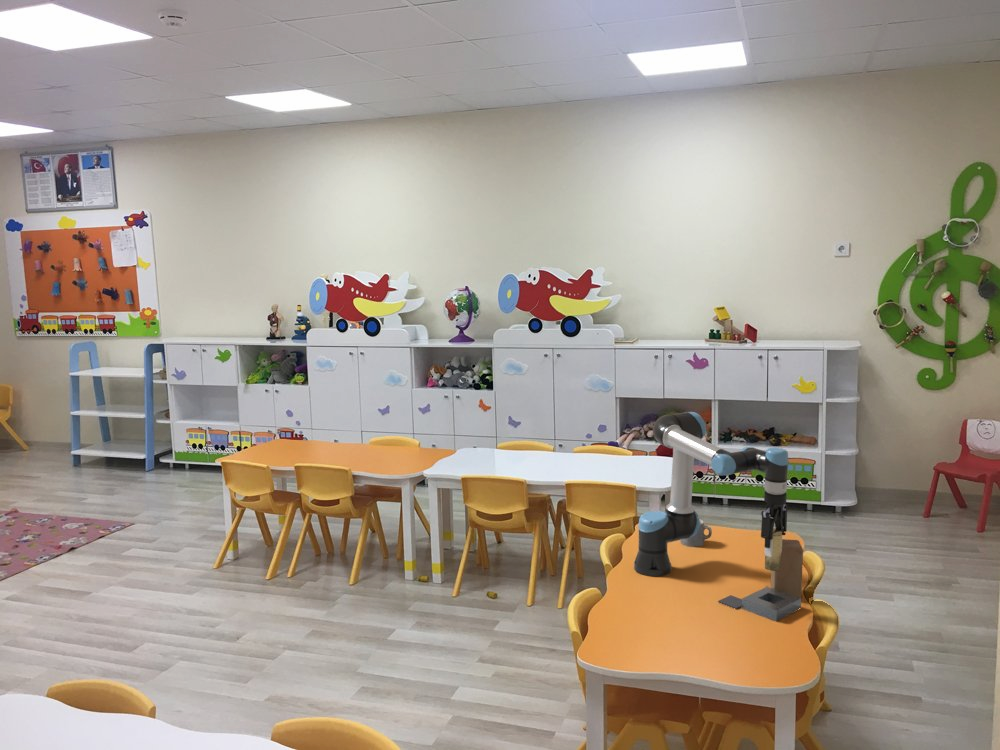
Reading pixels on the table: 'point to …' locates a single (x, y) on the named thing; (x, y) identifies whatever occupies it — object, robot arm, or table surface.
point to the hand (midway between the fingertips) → (773, 553)
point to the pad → (732, 601)
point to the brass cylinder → (775, 552)
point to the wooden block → (789, 569)
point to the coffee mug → (697, 536)
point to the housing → (771, 603)
